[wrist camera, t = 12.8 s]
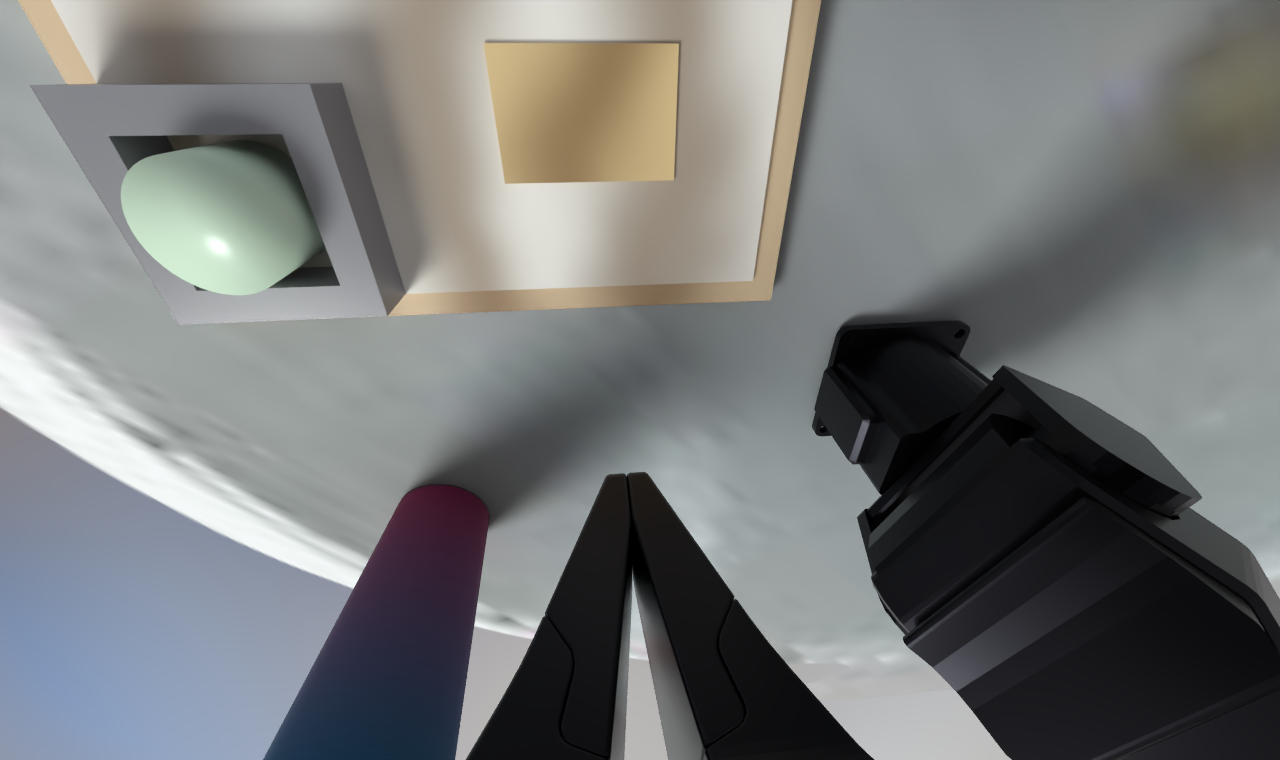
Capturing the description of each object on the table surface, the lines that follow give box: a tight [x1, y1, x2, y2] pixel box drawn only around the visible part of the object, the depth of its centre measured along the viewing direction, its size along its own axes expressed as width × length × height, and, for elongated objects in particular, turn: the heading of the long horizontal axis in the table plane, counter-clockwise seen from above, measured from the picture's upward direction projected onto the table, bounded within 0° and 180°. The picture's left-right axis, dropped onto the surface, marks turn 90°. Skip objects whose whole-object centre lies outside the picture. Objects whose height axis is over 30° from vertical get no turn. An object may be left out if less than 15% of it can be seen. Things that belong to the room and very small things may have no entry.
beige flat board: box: [18, 0, 821, 316], centre depth 14 cm, size 23×20×1 cm
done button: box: [121, 140, 325, 295], centre depth 15 cm, size 4×4×3 cm
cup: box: [263, 485, 489, 760], centre depth 20 cm, size 7×7×15 cm
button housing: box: [30, 83, 406, 325], centre depth 15 cm, size 7×7×2 cm
